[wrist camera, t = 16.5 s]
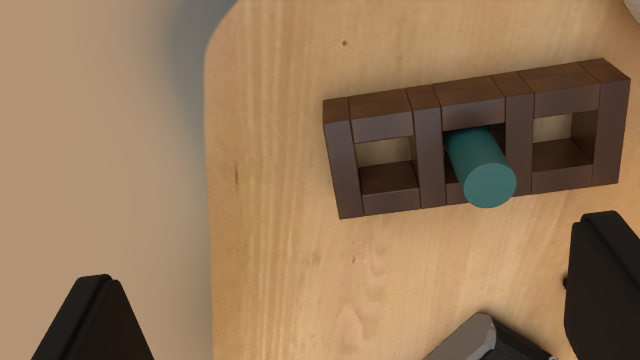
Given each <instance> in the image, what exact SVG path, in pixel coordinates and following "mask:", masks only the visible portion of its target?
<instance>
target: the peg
mask: <svg viewBox="0 0 640 360" xmlns="http://www.w3.org/2000/svg"><path fill="white" fill-rule="evenodd" d="M442 133H443V144H444V147H445V149H446V152H447V154H448V156H449V159H450V161H451V164H452V166H453V169H454V171H455V174H456V176H457V179H458V181H459V183H460V186H461V188H462V191H463V193H464V196H465V198H466V199H467V200H468V201H469V202H470V203H471V204H473V205H474V206H477V207H480V208H492V207H496V206H499V205H501V204H503V203H505V202H506V201H507V200H508V199H509V198H510V197H511V196H512V195H513V193H514V192H515V189H516V186H517V178H516V175H515V173H514V171H513V170H512V168H511V166H510V164H509V163H508V161H507V159H506V158H505V156H504V154H503V153H502V151H501V149H500V148H499V146H498V144H497V143H496V141H495V139H494V137H493V136H492V134H491V132H490V131H489V129H488V127H487V126H486V125H485V126H478V127H471V128H464V129H457V130H450V131H442Z"/></svg>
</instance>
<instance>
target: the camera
mask: <svg viewBox="0 0 640 360" xmlns="http://www.w3.org/2000/svg"><path fill="white" fill-rule="evenodd" d="M423 360H558V358H556V357H554V356H553V355H551V354H549V353H548V352H546V351H545V350H543V349H541V348H540V347H539V346H538V345H536V344H534V343H533V342H531V341H530V340H528V339H526V338H525V337H523V336H521V335H520V334H518V333H517V332H515V331H513V330H512V329H510V328H508V327H507V326H505V325H503V324H502V323H500V322H499V321H497V320H495V319H494V318H492V317H490V316H488V315H486V314H481V313H475V314H474V315H473V316H472V317H471V318H469V319H468V320H467V321H466V322H465V323H464V324H463V325H462V326H460V327H459V328H458V329H457V330H456V331H455V332H454V333H453V334H451V335H450V336H449V337H448V338H447V339H446V340H445V341H444V342H442V343H441V344H440V345H439V346H438V347H437V348H436V349H435V350H433V351H432V352H431V353H430V354H429V355H428V356H427V357H426V358H424V359H423Z"/></svg>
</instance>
